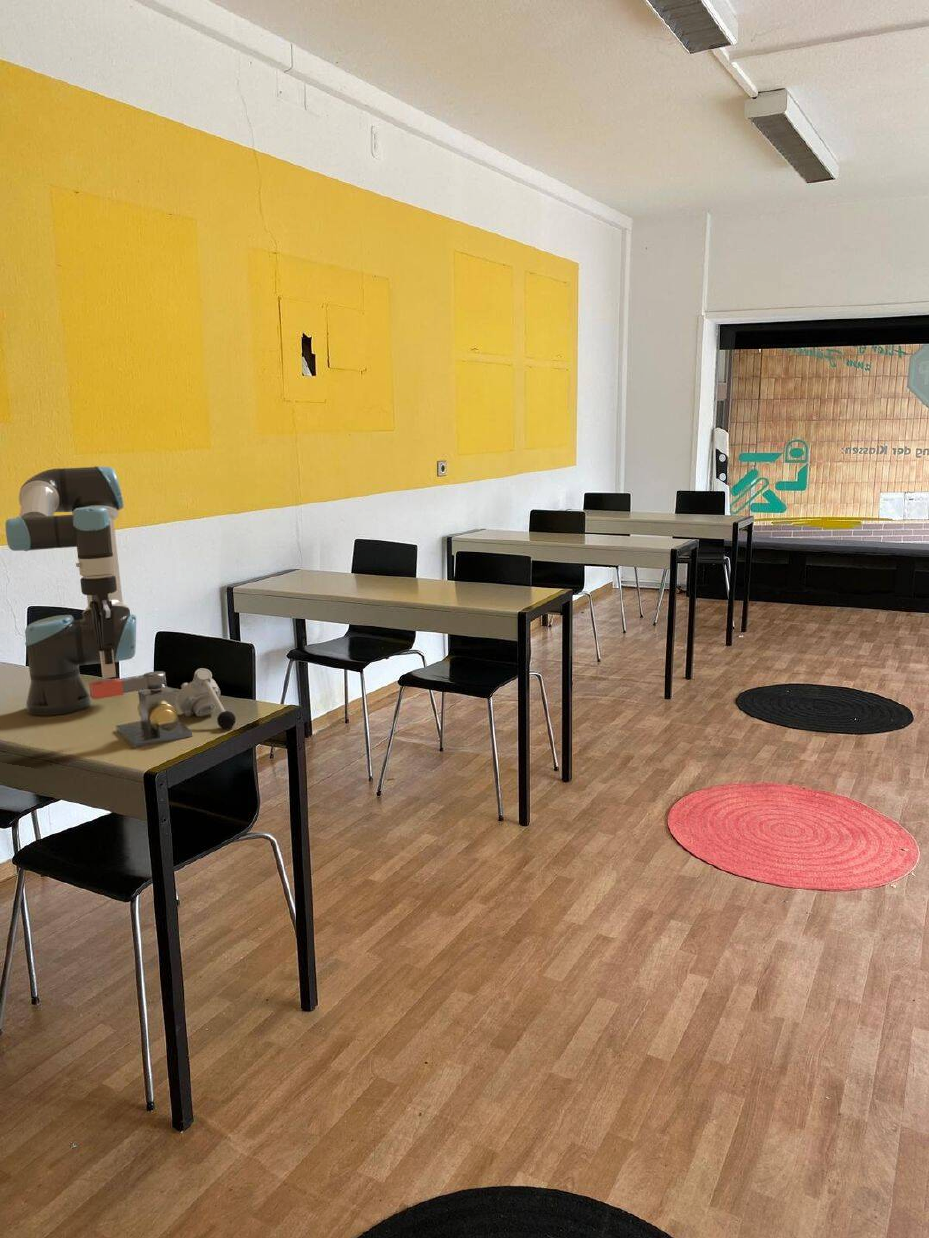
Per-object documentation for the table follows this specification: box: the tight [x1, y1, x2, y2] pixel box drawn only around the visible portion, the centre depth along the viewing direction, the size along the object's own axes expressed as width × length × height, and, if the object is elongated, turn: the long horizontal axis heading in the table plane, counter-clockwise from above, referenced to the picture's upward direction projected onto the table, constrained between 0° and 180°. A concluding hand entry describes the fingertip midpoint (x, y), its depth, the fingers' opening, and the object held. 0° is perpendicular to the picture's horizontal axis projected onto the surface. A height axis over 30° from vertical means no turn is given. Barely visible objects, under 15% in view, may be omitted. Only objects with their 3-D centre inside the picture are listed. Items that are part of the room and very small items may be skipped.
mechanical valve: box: [175, 667, 236, 730], centre depth 226 cm, size 10×18×15 cm
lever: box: [88, 670, 167, 700], centre depth 213 cm, size 5×16×3 cm, turn 124°
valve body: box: [115, 685, 193, 749], centre depth 216 cm, size 16×13×11 cm
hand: (109, 676), depth 216 cm, fingers closed
